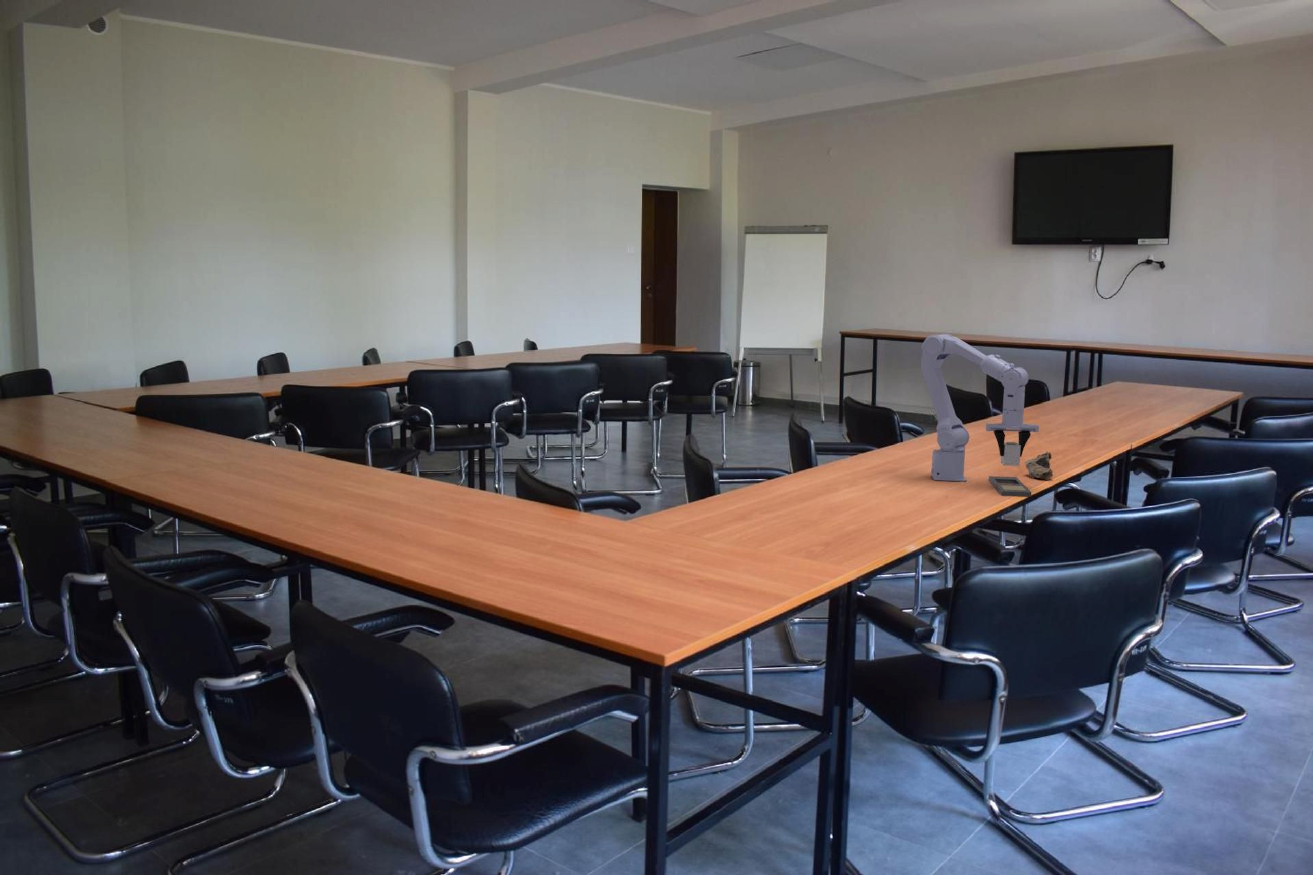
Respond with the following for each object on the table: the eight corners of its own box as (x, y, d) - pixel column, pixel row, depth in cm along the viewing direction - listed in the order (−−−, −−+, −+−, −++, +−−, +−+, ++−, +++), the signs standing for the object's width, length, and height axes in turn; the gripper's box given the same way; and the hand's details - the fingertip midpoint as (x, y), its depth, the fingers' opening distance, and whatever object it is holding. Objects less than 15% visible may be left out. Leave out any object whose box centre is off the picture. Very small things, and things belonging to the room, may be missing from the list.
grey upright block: (1003, 465, 301) (1005, 443, 300) (1000, 462, 305) (1002, 441, 304) (1019, 465, 300) (1020, 444, 299) (1016, 463, 304) (1017, 441, 303)
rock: (1067, 474, 315) (1050, 450, 321) (1057, 467, 310) (1040, 443, 317) (1043, 491, 319) (1027, 467, 325) (1033, 485, 314) (1016, 460, 320)
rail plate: (1001, 495, 292) (1001, 491, 292) (988, 480, 314) (988, 475, 313) (1031, 496, 291) (1031, 492, 291) (1016, 480, 312) (1016, 476, 312)
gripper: (989, 410, 297) (987, 457, 299) (1042, 412, 295) (1039, 459, 297) (985, 407, 304) (983, 453, 306) (1036, 408, 302) (1034, 454, 304)
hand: (1010, 455), depth 302 cm, fingers closed on grey upright block, 4 cm apart
